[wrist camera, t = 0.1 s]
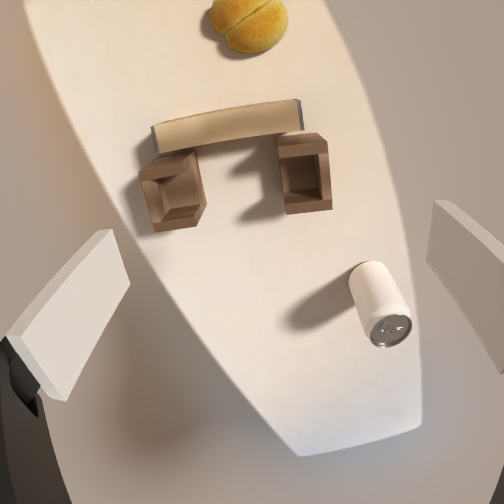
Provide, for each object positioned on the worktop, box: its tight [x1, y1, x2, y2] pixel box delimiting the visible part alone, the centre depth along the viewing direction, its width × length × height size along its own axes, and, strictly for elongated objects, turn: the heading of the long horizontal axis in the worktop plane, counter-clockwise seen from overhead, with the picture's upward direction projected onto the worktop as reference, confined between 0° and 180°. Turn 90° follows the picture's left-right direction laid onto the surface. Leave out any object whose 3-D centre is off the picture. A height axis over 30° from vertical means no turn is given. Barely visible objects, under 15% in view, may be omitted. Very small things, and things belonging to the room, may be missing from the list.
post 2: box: [276, 133, 333, 215], centre depth 35 cm, size 7×5×7 cm
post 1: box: [138, 150, 207, 232], centre depth 36 cm, size 7×5×7 cm
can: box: [349, 261, 412, 348], centre depth 40 cm, size 6×6×12 cm
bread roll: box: [210, 0, 288, 52], centre depth 27 cm, size 8×9×4 cm
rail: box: [151, 99, 304, 154], centre depth 33 cm, size 3×16×6 cm, turn 99°
